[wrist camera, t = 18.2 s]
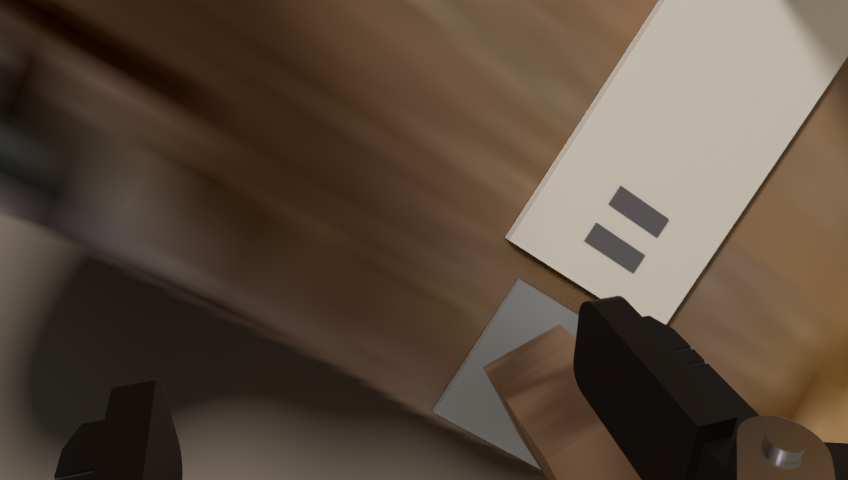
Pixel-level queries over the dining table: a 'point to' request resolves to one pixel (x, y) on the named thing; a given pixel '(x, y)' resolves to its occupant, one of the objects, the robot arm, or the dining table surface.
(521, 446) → the grey mat
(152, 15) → the dining table surface
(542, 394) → the walnut block
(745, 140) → the board
